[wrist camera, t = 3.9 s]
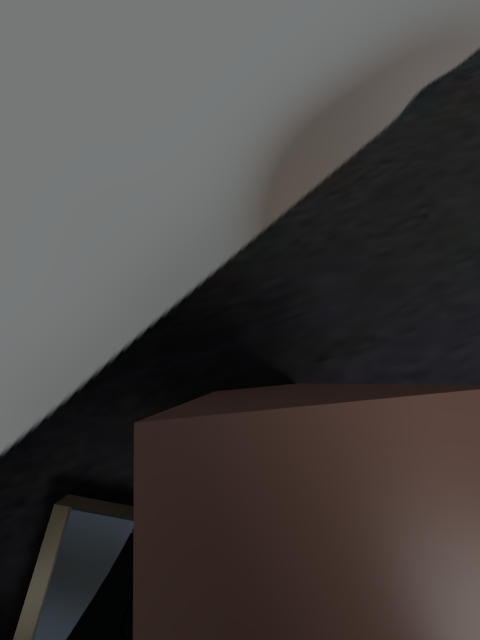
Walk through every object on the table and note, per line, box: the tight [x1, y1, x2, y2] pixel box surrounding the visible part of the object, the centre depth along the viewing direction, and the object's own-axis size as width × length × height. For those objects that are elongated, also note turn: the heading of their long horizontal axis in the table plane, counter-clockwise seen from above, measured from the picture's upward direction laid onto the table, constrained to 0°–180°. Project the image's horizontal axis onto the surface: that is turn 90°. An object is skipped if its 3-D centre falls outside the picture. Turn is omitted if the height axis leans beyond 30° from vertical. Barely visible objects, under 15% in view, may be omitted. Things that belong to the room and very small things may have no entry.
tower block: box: [133, 384, 480, 640], centre depth 9 cm, size 5×5×13 cm
